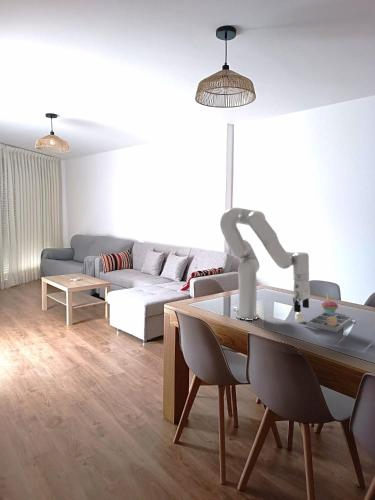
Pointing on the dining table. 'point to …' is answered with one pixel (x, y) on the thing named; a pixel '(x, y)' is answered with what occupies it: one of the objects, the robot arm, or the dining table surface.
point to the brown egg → (332, 321)
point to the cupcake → (329, 306)
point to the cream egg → (299, 317)
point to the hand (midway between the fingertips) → (301, 309)
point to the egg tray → (322, 318)
